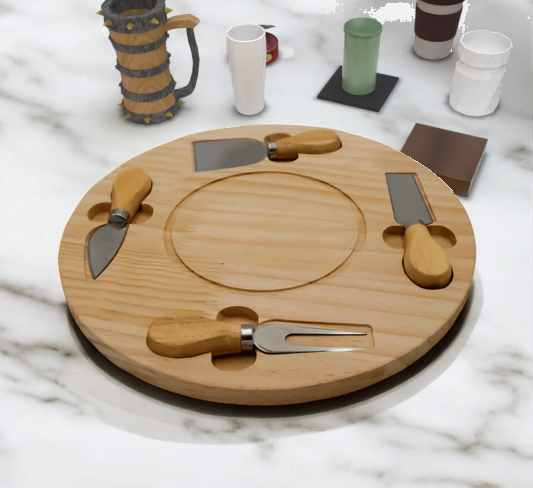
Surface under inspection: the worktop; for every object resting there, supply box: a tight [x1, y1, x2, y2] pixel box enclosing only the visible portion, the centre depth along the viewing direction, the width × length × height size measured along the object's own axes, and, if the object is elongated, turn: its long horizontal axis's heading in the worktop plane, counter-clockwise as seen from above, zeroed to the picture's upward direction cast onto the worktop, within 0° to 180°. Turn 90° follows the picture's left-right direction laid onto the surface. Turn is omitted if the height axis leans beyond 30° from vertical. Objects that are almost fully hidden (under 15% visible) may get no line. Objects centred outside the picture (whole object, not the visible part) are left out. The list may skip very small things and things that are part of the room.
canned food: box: [258, 24, 280, 67], centre depth 132 cm, size 11×10×10 cm
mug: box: [96, 0, 201, 125], centre depth 114 cm, size 13×17×20 cm
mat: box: [316, 64, 400, 113], centre depth 123 cm, size 12×12×1 cm
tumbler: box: [341, 16, 383, 95], centre depth 119 cm, size 7×7×12 cm
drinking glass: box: [225, 22, 267, 116], centre depth 115 cm, size 7×7×15 cm
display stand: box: [399, 122, 489, 198], centre depth 105 cm, size 12×12×3 cm
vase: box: [448, 29, 514, 117], centre depth 114 cm, size 9×9×12 cm
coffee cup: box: [413, 0, 466, 61], centre depth 127 cm, size 10×10×15 cm
